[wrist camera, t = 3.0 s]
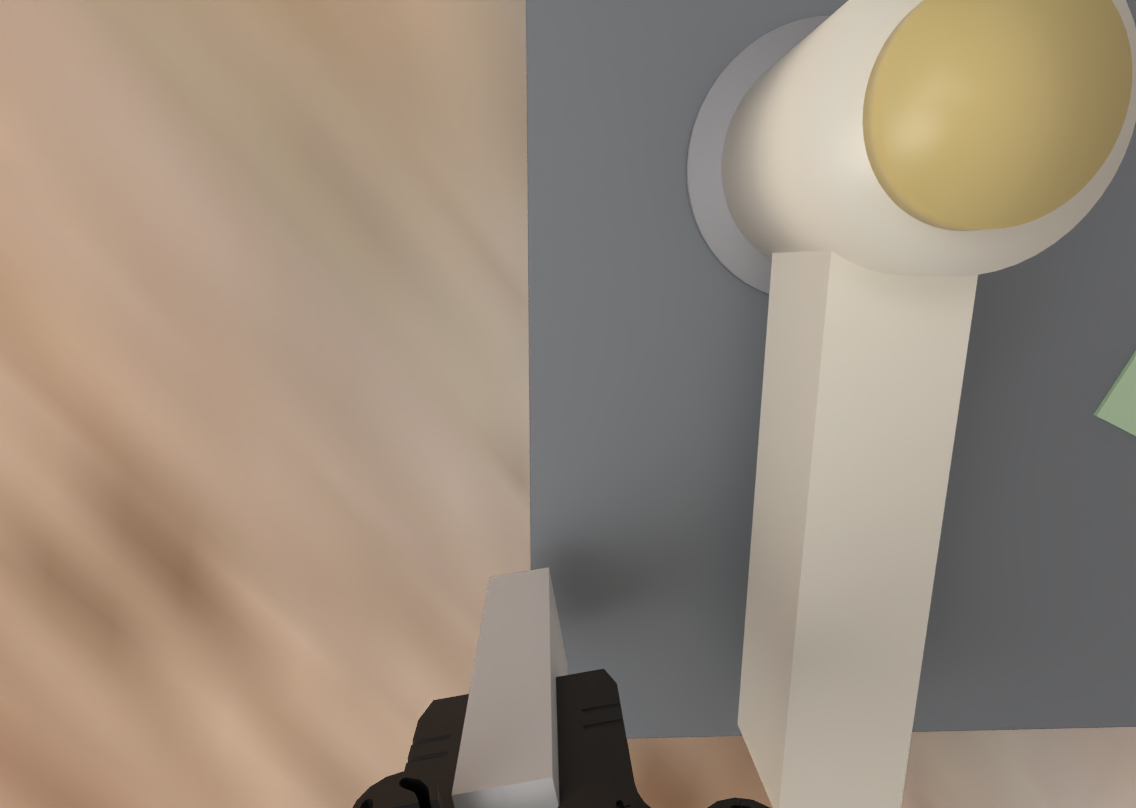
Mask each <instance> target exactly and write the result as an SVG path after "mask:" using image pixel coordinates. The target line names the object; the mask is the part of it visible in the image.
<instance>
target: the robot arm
mask: <svg viewBox="0 0 1136 808" xmlns="http://www.w3.org/2000/svg"><path fill="white" fill-rule="evenodd" d="M353 808H650V807H649V806H648V805H647V804H646V803H645V802H644V801H643V800H642V798H641V797H640V795H639V794H638V792H637V789H636V786H635V783H634V777H633V772H632V766H631V760H630V755H629V749H628V743H627V738H626V732H625V726H624V721H623V715H622V709H621V704H620V698H619V692H618V687H617V683H616V682H615V681H614V680H613V678H612V677H611V676H610V675H609V674H608V673H607V672H606V670H605V669H599V670H593V671H587V672H582V673H576V674H570V675H568V667H567V659H566V654H565V649H564V643H563V638H562V633H561V628H560V623H559V618H558V612H557V607H556V602H555V597H554V592H553V587H552V581H551V576H550V571H549V567H547V568H541V569H536V570H530V571H524V572H519V573H513V574H507V575H502V576H496V577H490V578H489V583H488V589H487V595H486V600H485V606H484V612H483V618H482V623H481V629H480V635H479V640H478V646H477V652H476V658H475V663H474V669H473V675H472V681H471V686H470V692H469V694H467V695H461V696H455V697H450V698H444V699H438V700H433V702H432V703H431V704H430V706H429V707H428V708H427V710H426V711H425V712H424V713H423V715H422V716H421V717H420V719H419V720H418V723H417V727H416V731H415V734H414V738H413V745H411V749H410V752H409V756H408V763H406V767H405V771H404V772H400V773H397V774H394V775H391V776H388V777H386V778H384V779H382V780H381V781H379V782H377V783H376V784H374V785H373V786H371V787H370V788H369V789H368V790H367V791H366V792H365V793H364V794H363V795H362V796H361V797H360V798H359V799H358V800H357V801H356V803H355V805H354V806H353ZM708 808H769V807H767V806H765V805H763V804H761V803H758V802H756V801H754V800H750V799H742V798H730V799H726V800H721V801H717V802H716V803H714V804H712V805H711V806H709V807H708Z"/></svg>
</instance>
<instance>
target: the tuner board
mask: <svg viewBox="0 0 1136 808" xmlns="http://www.w3.org/2000/svg"><path fill="white" fill-rule="evenodd" d="M847 1H848V0H526V40H527V162H528V284H529V406H530V528H531V570H536V569H541V568H547V567H549V571H550V576H551V581H552V587H553V592H554V597H555V602H556V607H557V612H558V618H559V623H560V628H561V633H562V638H563V643H564V649H565V654H566V659H567V667H568V675H570V674H576V673H582V672H587V671H593V670H599V669H605V670H606V672H607V673H608V674H609V675H610V676H611V677H612V678H613V680H614V681H615V682H616V683H617V687H618V692H619V698H620V704H621V709H622V715H623V721H624V726H625V732H626V738H670V737H713V736H742V734H741V731H740V729H739V726H738V724H737V723H738V710H739V696H740V683H741V670H742V656H743V643H744V629H745V616H746V602H747V589H748V575H749V562H750V548H751V535H752V521H753V508H754V494H755V481H756V468H757V454H758V441H759V427H760V414H761V400H762V387H763V373H764V360H765V346H766V333H767V319H768V306H769V292H770V279H771V265H772V260H771V259H769V258H767V257H766V256H765V255H763V254H762V253H760V252H759V251H758V250H757V249H756V248H755V247H754V246H753V245H751V244H750V243H749V242H748V241H747V239H746V238H745V237H744V235H743V234H742V233H741V231H740V230H739V228H738V227H737V225H736V223H735V221H734V220H733V218H732V216H731V213H730V211H729V208H728V206H727V202H726V198H725V195H724V191H723V183H722V154H723V146H724V142H725V138H726V133H727V130H728V127H729V125H730V122H731V119H732V117H733V115H734V113H735V111H736V109H737V107H738V105H739V103H740V102H741V100H742V99H743V97H744V96H745V94H746V93H747V92H748V90H749V89H750V88H751V87H752V86H753V84H754V83H755V82H756V81H757V80H758V79H759V78H760V77H761V76H762V75H763V74H764V73H766V72H767V71H768V70H769V69H770V68H771V67H772V66H773V65H775V64H776V63H777V62H778V61H779V60H780V59H782V58H783V57H784V56H785V55H786V54H787V53H788V52H790V51H791V50H792V49H793V48H794V47H795V46H796V45H798V44H799V43H800V42H801V41H802V40H803V39H805V38H806V37H807V36H808V35H809V34H810V33H811V32H813V31H814V30H815V29H816V28H817V27H818V26H819V25H821V24H822V23H823V22H824V21H825V20H826V19H828V18H829V17H830V16H831V15H832V14H833V13H834V12H836V11H837V10H838V9H839V8H840V7H841V6H843V5H844V4H845V3H846V2H847ZM1126 2H1127V4H1128V7H1129V9H1130V12H1131V14H1132V17H1133V19H1134V23H1135V27H1136V0H1126ZM1101 727H1136V122H1135V126H1134V130H1133V134H1132V137H1131V139H1130V142H1129V145H1128V148H1127V150H1126V153H1125V156H1124V158H1123V160H1122V162H1121V164H1120V166H1119V168H1118V170H1117V172H1116V174H1115V176H1114V177H1113V179H1112V181H1111V182H1110V184H1109V185H1108V187H1107V188H1106V190H1105V192H1104V193H1103V195H1102V196H1101V197H1100V199H1099V200H1098V201H1097V202H1096V204H1095V205H1094V206H1093V207H1092V209H1091V210H1090V211H1089V212H1088V214H1087V215H1086V216H1085V217H1084V218H1083V219H1082V220H1081V221H1080V222H1079V223H1078V224H1077V225H1076V226H1075V227H1074V228H1073V229H1072V230H1071V231H1069V232H1068V233H1067V234H1066V235H1064V236H1063V237H1062V238H1061V239H1059V240H1058V241H1057V242H1056V243H1054V244H1053V245H1051V246H1050V247H1048V248H1046V249H1045V250H1043V251H1042V252H1040V253H1038V254H1037V255H1035V256H1033V257H1031V258H1029V259H1027V260H1025V261H1023V262H1020V263H1018V264H1016V265H1013V266H1010V267H1007V268H1004V269H1001V270H998V271H995V272H989V273H984V274H979V275H978V279H977V286H976V293H975V300H974V307H973V314H972V320H971V327H970V334H969V341H968V348H967V355H966V362H965V369H964V376H963V383H962V390H961V396H960V403H959V410H958V417H957V424H956V431H955V438H954V445H953V452H952V459H951V466H950V472H949V479H948V486H947V493H946V500H945V507H944V514H943V521H942V528H941V535H940V542H939V548H938V555H937V562H936V569H935V576H934V583H933V590H932V597H931V604H930V611H929V618H928V624H927V631H926V638H925V645H924V652H923V659H922V666H921V673H920V680H919V687H918V694H917V700H916V707H915V714H914V721H913V728H912V732H929V731H972V730H1015V729H1058V728H1101Z"/></svg>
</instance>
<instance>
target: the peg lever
mask: <svg viewBox="0 0 1136 808" xmlns="http://www.w3.org/2000/svg"><path fill="white" fill-rule="evenodd" d="M1135 122H1136V27H1135V23H1134V19H1133V17H1132V14H1131V12H1130V9H1129V7H1128V4H1127V2H1126V0H848V1H847V2H846V3H845V4H844V5H843V6H841V7H840V8H839V9H838V10H837V11H836V12H834V13H833V14H832V15H831V16H830V17H829V18H828V19H826V20H825V21H824V22H823V23H822V24H821V25H819V26H818V27H817V28H816V29H815V30H814V31H813V32H811V33H810V34H809V35H808V36H807V37H806V38H805V39H803V40H802V41H801V42H800V43H799V44H798V45H796V46H795V47H794V48H793V49H792V50H791V51H790V52H788V53H787V54H786V55H785V56H784V57H783V58H782V59H780V60H779V61H778V62H777V63H776V64H775V65H773V66H772V67H771V68H770V69H769V70H768V71H767V72H766V73H764V74H763V75H762V76H761V77H760V78H759V79H758V80H757V81H756V82H755V83H754V84H753V86H752V87H751V88H750V89H749V90H748V92H747V93H746V94H745V96H744V97H743V99H742V100H741V102H740V103H739V105H738V107H737V109H736V111H735V113H734V115H733V117H732V119H731V122H730V125H729V127H728V130H727V133H726V138H725V142H724V146H723V154H722V183H723V191H724V195H725V198H726V202H727V206H728V208H729V211H730V213H731V216H732V218H733V220H734V221H735V223H736V225H737V227H738V228H739V230H740V231H741V233H742V234H743V235H744V237H745V238H746V239H747V241H748V242H749V243H750V244H751V245H753V246H754V247H755V248H756V249H757V250H758V251H759V252H760V253H762V254H763V255H765V256H766V257H767V258H769V259H771V260H772V265H771V279H770V292H769V306H768V319H767V333H766V346H765V360H764V373H763V387H762V400H761V414H760V427H759V441H758V454H757V468H756V481H755V494H754V508H753V521H752V535H751V548H750V562H749V575H748V589H747V602H746V616H745V629H744V643H743V656H742V670H741V683H740V696H739V710H738V723H737V724H738V726H739V729H740V731H741V734H742V736H743V738H744V741H745V743H746V745H747V748H748V750H749V753H750V755H751V757H752V760H753V762H754V764H755V767H756V769H757V772H758V774H759V776H760V779H761V781H762V783H763V786H764V788H765V791H766V793H767V795H768V798H769V800H770V802H771V805H772V807H773V808H901V804H902V797H903V790H904V783H905V776H906V770H907V763H908V756H909V749H910V742H911V735H912V728H913V721H914V714H915V707H916V700H917V694H918V687H919V680H920V673H921V666H922V659H923V652H924V645H925V638H926V631H927V624H928V618H929V611H930V604H931V597H932V590H933V583H934V576H935V569H936V562H937V555H938V548H939V542H940V535H941V528H942V521H943V514H944V507H945V500H946V493H947V486H948V479H949V472H950V466H951V459H952V452H953V445H954V438H955V431H956V424H957V417H958V410H959V403H960V396H961V390H962V383H963V376H964V369H965V362H966V355H967V348H968V341H969V334H970V327H971V320H972V314H973V307H974V300H975V293H976V286H977V279H978V275H979V274H984V273H989V272H995V271H998V270H1001V269H1004V268H1007V267H1010V266H1013V265H1016V264H1018V263H1020V262H1023V261H1025V260H1027V259H1029V258H1031V257H1033V256H1035V255H1037V254H1038V253H1040V252H1042V251H1043V250H1045V249H1046V248H1048V247H1050V246H1051V245H1053V244H1054V243H1056V242H1057V241H1058V240H1059V239H1061V238H1062V237H1063V236H1064V235H1066V234H1067V233H1068V232H1069V231H1071V230H1072V229H1073V228H1074V227H1075V226H1076V225H1077V224H1078V223H1079V222H1080V221H1081V220H1082V219H1083V218H1084V217H1085V216H1086V215H1087V214H1088V212H1089V211H1090V210H1091V209H1092V207H1093V206H1094V205H1095V204H1096V202H1097V201H1098V200H1099V199H1100V197H1101V196H1102V195H1103V193H1104V192H1105V190H1106V188H1107V187H1108V185H1109V184H1110V182H1111V181H1112V179H1113V177H1114V176H1115V174H1116V172H1117V170H1118V168H1119V166H1120V164H1121V162H1122V160H1123V158H1124V156H1125V153H1126V150H1127V148H1128V145H1129V142H1130V139H1131V137H1132V134H1133V130H1134V126H1135Z"/></svg>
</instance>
